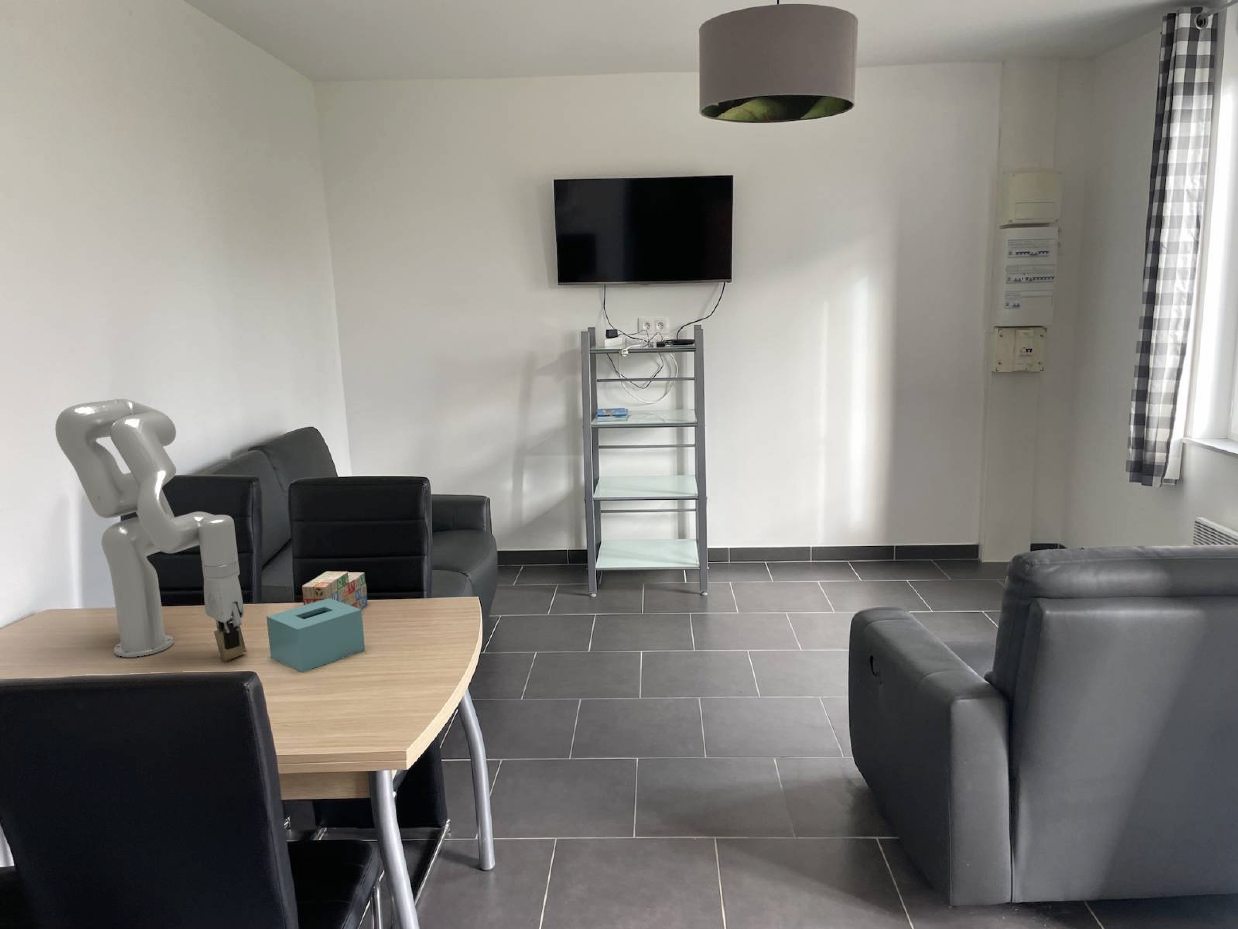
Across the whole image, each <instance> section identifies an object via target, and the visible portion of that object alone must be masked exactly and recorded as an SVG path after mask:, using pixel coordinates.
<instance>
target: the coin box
mask: <svg viewBox="0 0 1238 929" xmlns="http://www.w3.org/2000/svg"><path fill="white" fill-rule="evenodd" d="M362 610H363V609H359V608H356V607H353V606H350V605H347V604H344V603H342V602H339V601H336V600H333V599H330V598H328V599H324V600H321V601H317V602H314V603H310V604H307V605H304V604H303V605H300V606H298V607H293V608H291V609H286V610H284V611H280V612H277V613H273V614H271V615H270V614H269V615H267V616H266V625H267V632H268V643H269V645H268V646H269V653H270V658H271V659H273V660H275V661H277V662H279V661H280V663H281V662H282V664H284V665H285V664H287V665H286V666H287V667H290V668H292V667H293V668H292V669H293V670H296V671H298V672H300V671H301V673H304V672H307V671H310V670H313V669H316V668H319V667H321V665H322V666H324V665H323V664H325V665H327V664H330V663H333V662H335V661H338V659H339V660H341V658H342V659H344V658H348V657H349V655H350V656H352V655H351V654H353V655H355V654H358V652H359V653H361V652H364V651H366V645H365V635H364V623H363V612H362ZM363 650H364V651H363ZM343 657H344V658H343ZM332 661H333V662H332ZM329 662H330V663H329ZM315 667H316V668H315ZM312 668H313V669H312Z"/></svg>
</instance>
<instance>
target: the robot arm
mask: <svg viewBox="0 0 1238 929" xmlns="http://www.w3.org/2000/svg"><path fill="white" fill-rule="evenodd" d="M54 427H55V429H54V430H55V436H56V441H57V443H58V445H59V446H58V447H60V449H61V451H62V452H63V454H64V455H65V456H66V458H67V459H68V461H69V462H70V463H71V465H72V466H73V469H74V471H75V472H76V473H75V474H76V475H77V477H78V480H79V481H80V484H81V486H82V488H83V491H84V492H85V495H86V497H87V500H88V501H89V503H90V505H91V507H92V509H93V511H94V512H95V513H96V515H97V516H98V517H101V518H104V519H114V518H119V517H121V516H125V515H130V514H132V513H136V515H137V516H136V517H132V518H129V519H125V520H121V521H118V522H115V523H113V524H111V525H109V526H108V527H107V528H106V530H105V531H104V532H103V534H102V536H101V546H102V551H103V553H104V555H105V558H106V561H107V564H108V568H109V572H110V578H111V583H112V584H111V585H112V590H113V596H114V604H115V612H116V619H117V626H118V632H119V633H118V634H119V640H120V642H119V643H118V644H116V645H115V646H114V647H113V652H114V654H117V655H119V656H118V657H120V656H122V658H137V656H139V657H143V656H144V655H145V656H149V654H150V655H152V654H157V653H159V652H162V651H164V650H167V649H168V648H170V647H171V646H172V645H173V644H174V640H173V639H174V638H173V637H172V636H171V635H170V634H166V632H165V625H164V623H165V622H164V617H163V608H162V602H161V601H162V600H161V594H160V592H161V591H160V586H159V585H160V584H159V577H158V573H157V570H156V569H155V567H154V566H153V564H152V563H150V561H149V560H148V558H147V557H148V556H151V555H153V554H156V553H158V552H162V553H165V554H175V553H178V552H182V551H185V550H188V549H189V548H194V547H197V546H199V549H200V556H201V557H200V558H201V567H202V575H203V593H204V594H203V597H204V610H205V614H206V615H207V616H208V617H209V618H212V619H213V620H215V623H216V629H217V630H219V629H221V628H224V627H225V633H224V641H225V649H227V650H229V649H232V648H235V647H238V646H240V641H239V632H238V630H239V625H240V626H241V625H242V624H243V623H242V618H243V616H244V612H245V611H244V602H243V601H244V600H243V595H242V594H243V593H242V589H241V585H240V580H239V575H240V565H239V556H238V555H239V554H238V547H237V538H236V530H235V529H236V528H235V522H234V519H233V518H232V516H230V515H227V514H212V513H210V512H209V513H208V512H205V511H194V512H190V513H187V514H183V515H178V516H175V515H174V513H173V511H172V509H171V506H170V503H169V501H168V500H167V497H166V495H165V493H164V490H163V488H164V486H165V485H166V484H168V483H169V481H171V480H172V479H173V478H174V477H175V475H176V473H177V468H176V465H175V464H174V462H173V461H172V459H171V458H170V456H169V454H168V453H167V451H166V449H165V448H164V447H167V446H169V445H171V444H172V443H173V442H174V441H175V438H176V437H177V431H176V426H175V423H174V422H173V420H172V419H171V418H170V417H169V416H168V415H167V414H165V413H164V412H162V411H160V410H158V409H156V408H152V407H149V406H147V405H144V404H141V403H139V402H135V401H133V400H130V399H125V398H121V399H119V398H118V399H109V400H107V399H106V400H101V401H93V402H92V401H91V402H86V403H85V402H84V403H80V404H74V405H71V406H69V407H67V408H65V409H64V410H63V411H61V412H60V413H59V415H58V417H57V418H56V422H55V426H54ZM103 438H110V439H111V441H112V443H113V445H114V447H115V448H116V449H117V452H118V453H119V455H120V456H121V458H122V460H123V461H124V463H125V465H126V467H127V468H128V469H129V471H130V472H127V473H123V472H122V471H121V469H120V467H119V465H118V462H117V460H116V458H115V457H114V455H113V454H112V453H111V452H110V451H109V450H108V449H107V448H106V447H105V446H103V445H102V444H100V443H99V442H97V439H103ZM117 655H116V656H117Z"/></svg>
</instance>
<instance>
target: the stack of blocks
mask: <svg viewBox="0 0 1238 929" xmlns="http://www.w3.org/2000/svg"><path fill="white" fill-rule="evenodd" d="M301 590H302V597H303V598H302V601H303V606H304V605H307V604H310V603H314V602H317V601H321V600H324V599H328V598H330V599H333V600H336V601H339V602H342V603H344V604H347V605H350V606H353V607H356V608H359V609H361V610H363V609H364V608H365V607H366V606H368V595H367V594H368V592H367V583H366V576H365V572H356V571H355V572H349V571H329V570H328V571H325V572H323V573H322V574H320V575H317V577H315V578H314V579H312V580H309V582H306V583H305V584H303V585H302V586H301Z"/></svg>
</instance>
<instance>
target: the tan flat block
mask: <svg viewBox="0 0 1238 929" xmlns="http://www.w3.org/2000/svg"><path fill="white" fill-rule="evenodd" d="M238 632H239V641H240V646H238V647H235V648H232V649H229V650H227V649H225V641H224V633H225V627H224V628H221V629H219V630H218V629H217V630H215V631H213V633H214V638H215V641H216V645H217V649H218V653H219V656H220V659H221V660H222V661H224V662H229V661H230V660H232V659H234V658H237V657H240V656H241V655H244V654H245V653H247V647H246V643H245V640H244V636H243V633H242V629H241V625H239V630H238Z"/></svg>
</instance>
